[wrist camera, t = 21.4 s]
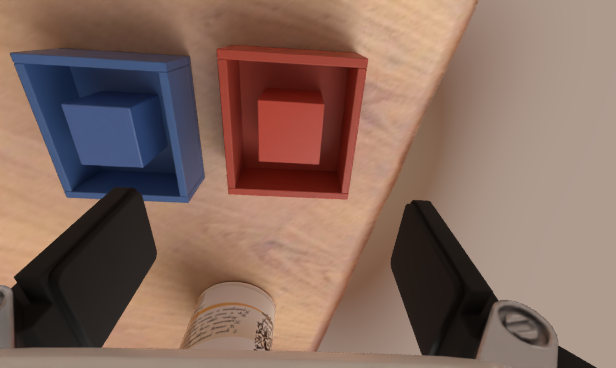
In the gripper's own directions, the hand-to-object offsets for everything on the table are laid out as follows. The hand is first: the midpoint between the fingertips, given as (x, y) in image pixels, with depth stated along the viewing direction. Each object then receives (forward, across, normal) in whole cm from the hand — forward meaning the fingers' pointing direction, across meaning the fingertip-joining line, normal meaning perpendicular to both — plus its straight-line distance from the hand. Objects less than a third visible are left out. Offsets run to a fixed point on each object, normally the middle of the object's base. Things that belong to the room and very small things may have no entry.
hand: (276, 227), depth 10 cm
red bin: (+16, 0, +1) cm, 16 cm away
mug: (+16, +6, +27) cm, 32 cm away
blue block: (+16, +13, +2) cm, 20 cm away
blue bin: (+16, +13, +2) cm, 21 cm away
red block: (+16, 0, +1) cm, 16 cm away
